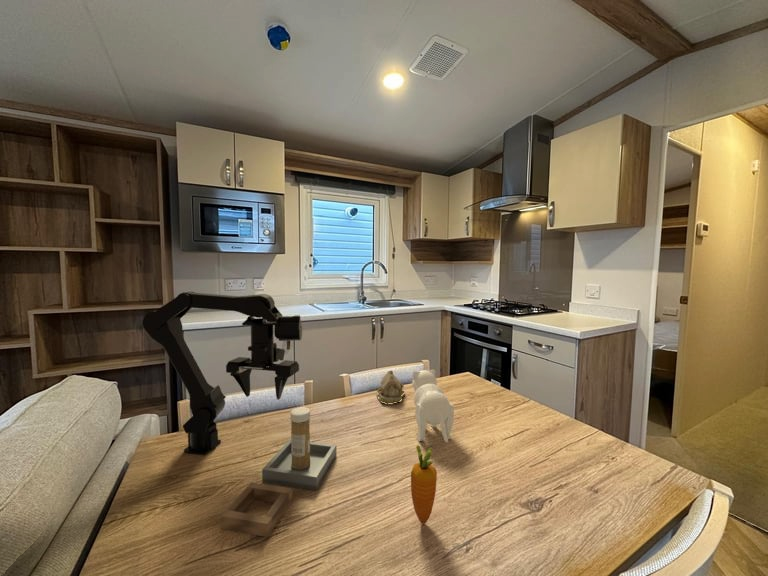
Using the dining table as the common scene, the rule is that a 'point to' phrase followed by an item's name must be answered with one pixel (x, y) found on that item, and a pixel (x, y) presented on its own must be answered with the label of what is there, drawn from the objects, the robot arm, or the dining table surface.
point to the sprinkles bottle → (300, 438)
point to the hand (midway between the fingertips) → (263, 397)
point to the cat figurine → (431, 404)
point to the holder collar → (255, 523)
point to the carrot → (423, 486)
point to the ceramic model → (390, 389)
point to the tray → (306, 478)
